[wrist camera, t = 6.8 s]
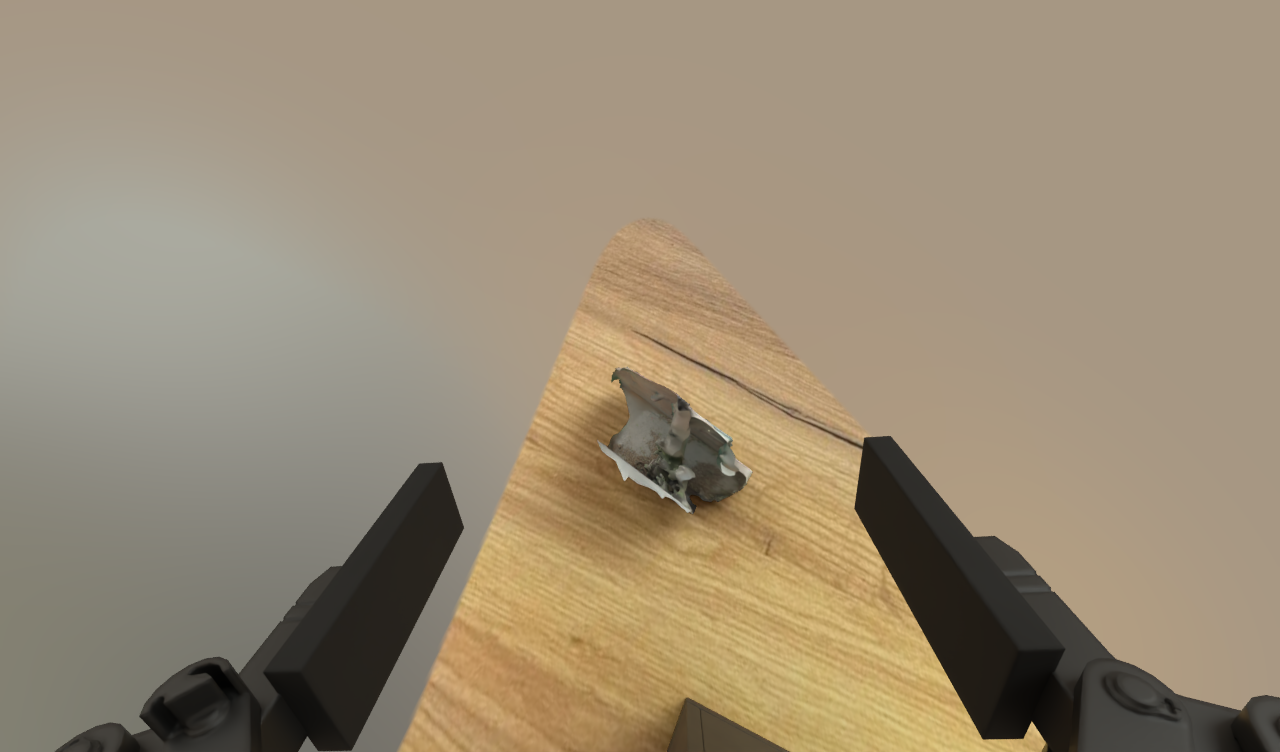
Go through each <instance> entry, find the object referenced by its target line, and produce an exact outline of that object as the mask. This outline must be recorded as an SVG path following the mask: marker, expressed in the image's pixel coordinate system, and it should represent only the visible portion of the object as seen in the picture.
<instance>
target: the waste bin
mask: <svg viewBox="0 0 1280 752" xmlns="http://www.w3.org/2000/svg"><path fill="white" fill-rule="evenodd" d="M667 752H789V751H787V750H785V749H783V748H782V747H780V746H778V745H776V744H774V743H772V742H770V741H768V740H767V739H765V738H763V737H761V736H759V735H757V734H755V733H753V732H752V731H750V730H748V729H746V728H744V727H742V726H740V725H738V724H737V723H735V722H733V721H731V720H729V719H727V718H725V717H723V716H721V715H720V714H718V713H716V712H714V711H712V710H710V709H708V708H706V707H705V706H703V705H701V704H699V703H697V702H695V701H693V700H691V699H690V698H686V699H685V702H684V705H683V708H682V710H681V713H680V716H679V719H678V722H677V725H676V727H675V730H674V733H673V736H672V739H671V741H670V744H669V747H668V750H667Z"/></svg>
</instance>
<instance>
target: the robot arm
mask: <svg viewBox="0 0 1280 752" xmlns="http://www.w3.org/2000/svg"><path fill="white" fill-rule="evenodd" d="M854 509H855V510H856V512H857V514H858V516H859V518H860V519H861V521H862V523H863V525H864V527H865V528H866V530H867V532H868V534H869V536H870V537H871V539H872V541H873V543H874V545H875V546H876V548H877V550H878V552H879V554H880V555H881V557H882V559H883V561H884V563H885V564H886V566H887V568H888V570H889V572H890V573H891V575H892V577H893V579H894V581H895V582H896V584H897V586H898V588H899V590H900V591H901V593H902V595H903V597H904V599H905V600H906V602H907V604H908V606H909V607H910V609H911V611H912V613H913V615H914V616H915V618H916V620H917V622H918V624H919V625H920V627H921V629H922V631H923V633H924V634H925V636H926V638H927V640H928V642H929V643H930V645H931V647H932V649H933V651H934V652H935V654H936V656H937V658H938V660H939V661H940V663H941V665H942V667H943V669H944V670H945V672H946V674H947V676H948V678H949V679H950V681H951V683H952V685H953V687H954V688H955V690H956V692H957V694H958V696H959V697H960V699H961V701H962V703H963V705H964V706H965V708H966V710H967V712H968V714H969V715H970V717H971V719H972V721H973V722H974V724H975V726H976V728H977V730H978V731H979V733H980V735H981V737H982V739H1023V738H1024V736H1025V734H1026V732H1027V730H1028V728H1029V726H1030V724H1031V721H1032V722H1033V723H1034V725H1035V726H1036V728H1037V729H1038V731H1039V732H1040V734H1041V735H1042V737H1043V739H1044V740H1045V742H1046V744H1045V746H1044V748H1043V750H1042V752H1280V698H1279V697H1273V696H1268V695H1265V696H1258V697H1253V698H1251V699H1250V701H1249V702H1248V703H1247V704H1246V706H1245V707H1244V708H1243V709H1242V711H1240V710H1236V709H1232V708H1228V707H1224V706H1220V705H1216V704H1212V703H1208V702H1204V701H1200V700H1196V699H1192V698H1187V697H1184V696H1181V695H1178V694H1175V693H1174V692H1173V691H1172V690H1171V689H1170V688H1168V687H1167V686H1166V685H1164V684H1163V683H1162V682H1161V681H1159V680H1158V679H1157V678H1156V677H1154V676H1153V675H1151V674H1149V673H1147V672H1145V671H1144V670H1142V669H1140V668H1138V667H1136V666H1134V665H1131V664H1129V663H1126V662H1123V661H1120V660H1117V659H1115V658H1114V657H1113V656H1112V655H1111V654H1110V653H1109V652H1108V651H1107V649H1106V648H1105V647H1104V646H1103V645H1102V644H1101V643H1100V642H1099V641H1098V640H1097V639H1096V637H1095V636H1094V635H1093V634H1092V633H1091V632H1090V631H1089V630H1088V628H1087V627H1086V626H1085V625H1084V624H1083V623H1082V622H1081V621H1080V620H1079V618H1078V617H1077V616H1076V615H1075V614H1074V613H1073V612H1072V611H1071V610H1070V608H1069V607H1068V606H1067V605H1066V604H1065V603H1064V602H1063V601H1062V600H1061V599H1060V598H1059V596H1058V595H1057V594H1056V593H1055V592H1052V591H1051V587H1049V585H1048V584H1047V583H1046V582H1045V581H1044V580H1043V579H1042V578H1041V577H1040V576H1038V575H1037V574H1036V571H1035V570H1034V569H1033V568H1032V567H1031V565H1030V564H1029V563H1028V562H1027V561H1026V560H1025V559H1024V558H1023V557H1022V555H1021V554H1020V553H1019V552H1018V551H1016V550H1015V549H1013V548H1011V547H1010V546H1009V545H1007V544H1006V543H1004V542H1003V541H1001V540H1000V539H998V538H997V537H995V536H988V537H973V536H972V534H971V533H970V532H969V531H968V529H967V528H966V527H965V526H964V525H963V523H962V522H961V521H960V520H959V519H958V517H957V516H956V515H955V514H954V512H952V510H951V509H950V508H949V506H948V505H947V504H946V503H945V502H944V500H943V499H942V498H941V497H940V495H939V494H938V493H937V492H936V491H935V489H934V488H933V487H932V486H931V485H930V483H929V482H928V481H927V480H926V478H925V477H924V476H923V475H922V474H921V472H920V471H919V470H918V469H917V468H916V466H915V465H914V464H913V463H912V462H911V460H910V459H909V458H908V457H907V455H906V454H905V453H904V452H903V451H902V449H901V448H900V447H899V446H898V444H897V443H896V442H895V441H894V440H893V438H892V437H891V436H883V437H866V438H864V444H863V451H862V458H861V465H860V472H859V480H858V487H857V494H856V501H855V508H854ZM463 529H464V526H463V523H462V520H461V517H460V514H459V511H458V508H457V505H456V502H455V499H454V496H453V493H452V490H451V487H450V484H449V481H448V478H447V475H446V472H445V469H444V466H443V463H442V462H440V463H423V464H419V465H418V466H417V467H416V469H415V470H414V471H413V472H412V474H411V475H410V477H409V478H408V479H407V480H406V482H405V483H404V484H403V486H402V487H401V489H400V490H399V491H398V492H397V494H396V495H395V497H394V498H393V499H392V500H391V502H390V503H389V504H388V506H387V507H386V509H385V510H384V511H383V512H382V514H381V515H380V517H379V518H378V519H377V520H376V522H375V523H374V525H373V526H372V527H371V529H370V530H369V531H368V532H367V534H366V535H365V536H364V538H363V539H362V541H361V542H360V543H359V544H358V546H357V547H356V548H355V550H354V551H353V553H352V554H351V555H350V557H349V558H348V559H347V560H346V562H345V563H344V565H343V566H337V567H330V568H329V569H328V570H326V571H325V572H324V573H323V574H322V575H320V576H319V577H318V578H317V579H315V580H314V581H313V582H312V583H311V584H310V585H309V586H308V587H307V589H306V590H305V591H304V592H303V594H302V595H301V596H300V597H299V599H298V600H297V601H296V605H295V606H292V607H291V609H290V610H289V611H288V612H287V614H286V615H285V616H284V620H283V621H282V622H280V623H279V624H278V625H277V626H276V628H275V629H274V630H273V631H272V633H271V634H270V635H269V636H268V638H267V639H266V640H265V642H264V643H263V644H262V645H261V647H260V648H259V649H258V650H257V652H256V653H255V654H254V656H253V657H252V658H251V659H250V660H249V662H248V663H247V664H246V666H245V667H244V668H243V669H242V671H241V672H240V673H239V674H238V673H237V672H236V671H235V669H234V668H233V667H232V665H231V664H230V663H229V661H228V660H226V659H224V658H221V657H213V658H207V659H204V660H201V661H198V662H196V663H194V664H191V665H189V666H187V667H186V668H184V669H182V670H181V671H179V672H178V673H176V674H175V675H173V676H172V677H170V678H169V679H168V680H167V681H166V682H165V683H164V684H162V685H161V686H160V687H159V688H158V689H157V690H156V691H155V692H154V693H153V694H152V696H151V697H150V698H149V699H148V701H147V702H146V703H145V705H144V707H143V709H142V711H141V714H140V718H141V719H143V721H144V722H145V723H146V724H147V725H148V726H149V727H150V728H151V729H149V730H146V731H143V732H140V733H137V734H134V735H131V734H130V733H129V732H128V731H127V730H126V729H125V728H124V727H123V726H122V725H121V724H116V723H107V724H103V725H99V726H96V727H93V728H91V729H89V730H87V731H86V732H83V733H81V734H79V735H77V736H76V737H74V738H73V739H71V740H70V741H69V742H67V743H66V744H64V745H63V746H62V747H60V748H59V749H57V750H56V751H55V752H298V751H299V749H300V747H301V746H302V744H303V742H304V741H305V739H306V737H307V736H308V737H309V739H310V740H311V742H312V743H313V744H314V746H315V747H316V748H317V750H318V751H344V750H345V751H348V750H349V751H351V750H352V749H353V747H354V745H355V743H356V741H357V739H358V737H359V735H360V733H361V731H362V729H363V727H364V725H365V723H366V721H367V719H368V717H369V715H370V713H371V711H372V709H373V707H374V705H375V703H376V701H377V699H378V697H379V695H380V693H381V691H382V689H383V687H384V685H385V683H386V681H387V679H388V677H389V675H390V673H391V671H392V670H393V667H394V666H395V663H396V661H397V660H398V657H399V656H400V654H401V652H402V650H403V648H404V646H405V644H406V642H407V640H408V638H409V636H410V634H411V632H412V630H413V628H414V626H415V624H416V622H417V620H418V618H419V616H420V614H421V612H422V610H423V608H424V606H425V604H426V602H427V600H428V598H429V596H430V594H431V592H432V590H433V588H434V586H435V584H436V582H437V580H438V578H439V576H440V574H441V572H442V570H443V569H444V566H445V564H446V563H447V561H448V559H449V556H450V555H451V552H452V551H453V549H454V547H455V544H456V543H457V541H458V539H459V537H460V535H461V533H462V531H463Z"/></svg>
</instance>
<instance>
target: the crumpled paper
mask: <svg viewBox="0 0 1280 752" xmlns="http://www.w3.org/2000/svg"><path fill="white" fill-rule="evenodd" d="M615 369H616V370H615V372H613V375H612V381H611V383H612V382H613V381H614V380H616V379H620V380H619V381H620V382H619V383H621V385H620V388H622V390H623V392H624V394H625V397H626V401H627V406H628V410H629V415H630V418H629V420H628V422H627V424H626V425H625V426H624V427H623V429H622V430H621V431H620V432H619V433H618V434H615V435H613V437H612V438H611V440H610V444H609V446H608V447H607V446H606V445H604V444H603V443H601V442H599V441H598V440H597V441H598V444H599V446H600V448H601V450H602V451H603V452H604V453H605V454H606V455H607V456H609V457H610V458H612V459H613V460H615V461H616V463H617V465H618V468H619V470H620V472H621V475H622V477H623V479H624V481H625V480H626V479H627V478H628V477H630V478H631V479H632V480H634V481H635V482H636V483H638V484H640V485H643V486H646V487H649V488H650V489H652V490H654V491H656V492H657V493H658V494H659V496H660V497H661V498H662V499H663V498H664V497H668V498H670V499H672V500H673V501H675V502H676V503H677V504H678V505H679V506H680V507H681V508H683V509H685V510H686V512H687V513H688V512H689V513H691V514H693V513H694V512H695V509H696V505H694V504H693V503H692V501H691V499H690V497H689V496H690V495H696V496H699V497H700V498H701V499H702V500H703V501H709V502H711V501H712V500H715V501H717V502H719V501H721V500H722V499H724V498H726V497H729V496H730V495H733V494H732V493H735V492H738V491H740V490H741V489H742V488H744V486H745V485H746V484H747V481H748V479H749V478H750V477H751V474H752V471H751V470H750V469H749V468H748V467H747V466H745V465H744V464H742V463H741V462H740V461H739V460H737V459H736V458H735V455H734V453H733V452H732V450H731V448H730V447H731V446H732V444H731V443H732V441H733V440H732V438H731V437H730V436H728V435H727V434H725V433H724V432H722V431H721V430H720V429H718V428H717V427H715V426H714V425H712V424H711V423H710V422H709V421H708V420H706V419H704V418H702V417H701V416H700V415H698V413H696V412H695V411H694V410H693V409H692V408H691V407H690V406H689V405H690V404H688V403H687V402H685V400H683V399H682V398H681V397H680V396H679V395H678V394H677V393H675V392H673V391H672V390H670V389H668V388H666V387H664V386H662V385H660V384H657V383H655V382H653V381H651V380H649V379H647V378H645V377H644V376H642V375H640V374H639V373H638V372H636V371H633V370H631V369H629V368H628V367H626V368H619V367H618V368H615Z"/></svg>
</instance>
